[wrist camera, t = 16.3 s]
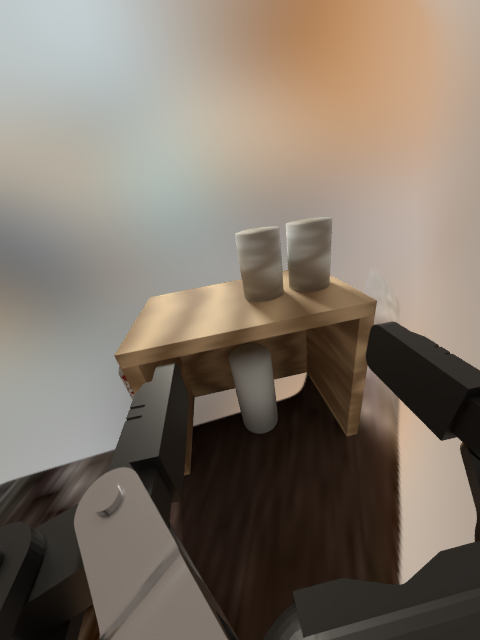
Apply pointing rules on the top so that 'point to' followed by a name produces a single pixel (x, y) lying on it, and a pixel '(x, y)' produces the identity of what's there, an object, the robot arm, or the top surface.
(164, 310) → the oak shelf
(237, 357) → the white cylinder
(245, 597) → the top surface
